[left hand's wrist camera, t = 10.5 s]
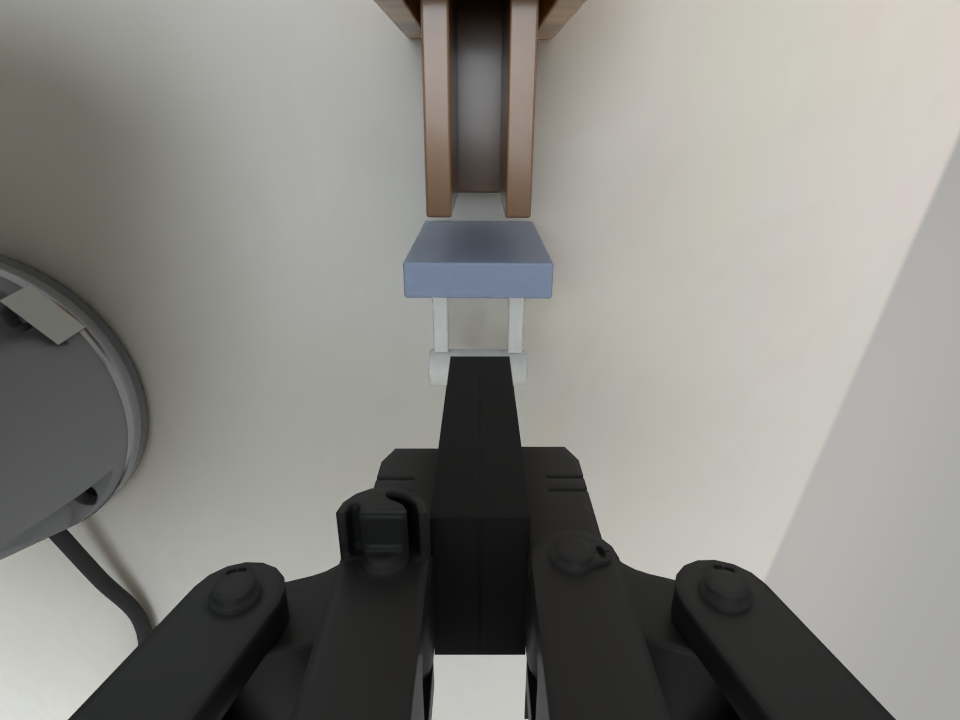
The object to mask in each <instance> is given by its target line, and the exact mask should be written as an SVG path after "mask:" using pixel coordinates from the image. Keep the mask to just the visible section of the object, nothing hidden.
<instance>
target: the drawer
mask: <svg viewBox="0 0 960 720" xmlns="http://www.w3.org/2000/svg"><path fill="white" fill-rule="evenodd" d="M420 4H421V39H422V73H423V108H424V143H425V177H426V212H427V216H428V217H451V215H452V212H453V209H454V205H455V202H456V199H457V195H458V192H474V193H500V197H501V201H502V204H503V208H504V212H505V216H506V217H507V218H529V217H530V216H531V192H532V166H533V141H534V115H535V90H536V64H537V38H538V13H539V0H420ZM403 270H404V292H405V297H407V298H433V330H434V349H431V350H430V354H429V382H430V385H447V379H448V371H449V364H450V356H510V364H511V371H512V379H513V386H525V385H526V381H527V354H526V350H522V339H523V311H524V298H551V297H552V281H553V263H552V261H551V259H550V257H549V255H548V253H547V251H546V249H545V247H544V245H543V243H542V241H541V239H540V237H539V235H538V233H537V231H536V229H535V227H534V225H533V223H532V222H454V221H426V222H425V223H424V225H423V227H422V229H421V231H420V233H419V235H418V236H417V238H416V240H415V242H414V244H413V246H412V248H411V250H410V252H409V253H408V255H407V257H406V259H405V261H404V263H403ZM448 298H509V299H508V338H507V350H502V349H449V325H448Z"/></svg>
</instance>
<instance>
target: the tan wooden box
mask: <svg viewBox="0 0 960 720" xmlns="http://www.w3.org/2000/svg"><path fill="white" fill-rule="evenodd" d="M374 1H375V2H376V3H377V4H378V5H379V7H380V8H381V9H382V10H383V11H384V12H385V13H386V14H387V15H388V17H389V18H390V19H391V20H392V21H393V22H394V23H395V24H396V26H397V27H398V28H399V29H400V30H401V31H402V32H403V33H404V34H405V35H406V36H407V37H408V38H421V4H420V0H374ZM585 2H586V0H539V13H538V38H537V39H552V38H553V37H554V36H555V35H556V34H557V33H558V31H559V30H560V29H561V28H562V27H563V26H564V25H565V24H566V23H567V22H568V20H569V19H570V18H571V17H572V16H573V15H574V14H575V13H576V12H577V10H578V9H579V8H580V7H581V6H582V5H583V4H584V3H585Z"/></svg>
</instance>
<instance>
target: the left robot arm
mask: <svg viewBox="0 0 960 720" xmlns="http://www.w3.org/2000/svg"><path fill="white" fill-rule="evenodd" d="M147 427H148V420H147V407H146V401H145V396H144V392H143V388H142V385H141V382H140V380H139V377H138V374H137V372H136V370H135V367H134V365H133V363H132V361H131V359H130V357H129V356H128V354H127V352H126V351H125V349H124V347H123V346H122V344H121V343H120V341H119V340H118V339H117V337H116V336H115V334H114V333H113V332H112V331H111V329H110V328H109V327H108V326H107V325H106V323H105V322H104V321H103V320H102V319H101V318H100V317H99V316H98V315H97V314H96V313H95V312H94V311H93V310H92V309H91V308H90V307H89V306H88V305H87V304H86V303H84V302H83V301H82V300H81V299H80V298H79V297H77V296H76V295H75V294H73V293H72V292H71V291H69V290H68V289H67V288H65V287H64V286H62V285H61V284H59V283H58V282H56V281H55V280H53V279H51V278H50V277H48V276H46V275H44V274H42V273H41V272H39V271H37V270H35V269H33V268H31V267H28V266H26V265H24V264H22V263H19V262H17V261H14V260H11V259H8V258H5V257H3V256H0V560H1V559H3V558H5V557H7V556H10V555H12V554H14V553H16V552H18V551H20V550H22V549H25V548H27V547H29V546H31V545H33V544H35V543H37V542H40V541H42V540H44V539H46V538H48V537H49V538H50V539H51V540H52V541H53V542H54V543H55V545H56V546H57V547H58V548H59V549H60V550H61V551H62V552H63V553H64V554H65V555H66V556H67V558H68V559H69V560H70V561H71V562H72V563H73V564H74V565H75V566H76V567H77V568H78V569H79V570H80V571H81V573H82V574H83V575H84V576H85V577H86V578H87V579H88V580H89V581H90V582H91V583H92V584H93V585H94V586H95V587H96V588H97V589H98V590H99V591H100V592H101V593H103V594H104V595H105V596H106V597H107V598H108V599H110V600H111V601H112V602H113V603H115V604H116V605H117V606H118V607H119V608H120V609H121V610H122V611H123V612H124V613H125V614H126V615H127V616H128V617H129V618H130V620H131V622H132V624H133V626H134V628H135V631H136V634H137V639H138V647H137V648H136V649H135V650H134V651H133V652H132V653H131V654H130V655H129V656H128V657H127V658H126V659H125V660H124V661H123V662H122V664H121V665H120V666H119V667H118V668H117V669H116V670H115V671H114V672H113V673H112V674H111V675H110V676H109V677H108V678H107V679H106V680H105V681H104V682H103V683H102V685H101V686H100V687H99V688H98V689H97V690H96V691H95V692H94V693H93V694H92V695H91V696H90V697H89V698H88V699H87V700H86V701H85V702H84V703H83V704H82V706H81V707H80V708H79V709H78V710H77V711H76V712H75V713H74V714H73V715H72V716H71V717H70V718H69V719H68V720H431V718H432V705H433V693H434V670H433V657H434V648H435V655H525V648H526V655H527V670H526V694H525V719H529V720H896V719H895V718H894V717H893V716H892V715H891V714H890V713H889V712H888V711H887V710H886V709H885V708H884V707H883V706H882V705H881V704H880V703H879V702H878V701H877V700H876V699H875V698H874V696H873V695H872V694H871V693H870V692H869V691H868V690H867V689H866V688H865V687H864V686H863V685H862V684H861V683H860V682H859V681H858V680H857V679H856V678H855V677H854V676H853V675H852V674H851V672H850V671H849V670H848V669H847V668H846V667H845V666H844V665H843V664H842V663H841V662H840V661H839V660H838V659H837V658H836V657H835V656H834V655H833V654H832V653H831V652H830V651H829V650H828V649H827V647H826V646H825V645H824V644H823V643H822V642H821V641H820V640H819V639H818V638H817V637H816V636H815V635H814V634H813V633H812V632H811V631H810V630H809V629H808V628H807V627H806V626H805V624H804V623H803V622H802V621H801V620H800V619H799V618H798V617H797V616H796V615H795V614H794V613H793V612H792V611H791V610H790V609H789V608H788V607H787V606H786V605H785V604H784V603H783V602H782V600H781V599H780V598H779V597H778V596H777V595H776V594H775V593H774V592H773V591H772V590H771V589H770V588H769V587H768V586H767V585H766V584H765V583H764V582H762V581H761V580H760V579H759V578H757V577H756V576H755V575H754V574H752V573H751V572H749V571H747V570H745V569H742V568H740V567H738V566H736V565H734V564H730V563H726V562H721V561H717V560H698V561H695V562H692V563H690V564H687V565H684V566H683V568H682V569H681V570H680V571H679V572H678V574H677V575H676V580H672V579H668V578H664V577H659V576H655V575H651V574H647V573H644V572H641V571H638V570H635V569H633V568H631V567H629V566H627V565H625V564H623V563H622V562H621V561H620V560H619V557H618V556H617V554H616V552H615V551H614V549H613V547H612V546H610V545H609V544H608V543H607V542H605V541H604V540H603V539H602V538H601V534H600V531H599V527H598V524H597V521H596V517H595V514H594V511H593V507H592V504H591V501H590V497H589V494H588V492H587V487H586V484H585V480H584V479H583V474H582V470H581V467H580V464H579V460H578V459H577V458H576V457H575V456H574V455H573V454H571V453H570V452H569V451H568V450H567V449H566V448H565V447H521V441H520V433H519V425H518V418H517V410H516V402H515V394H514V387H513V379H512V371H511V364H510V356H450V364H449V371H448V379H447V387H446V394H445V402H444V410H443V418H442V425H441V433H440V441H439V448H438V449H395V450H394V451H393V452H392V453H390V454H389V455H388V456H387V457H386V458H385V459H384V460H383V461H382V462H381V466H380V469H379V473H378V476H377V480H376V483H375V486H374V488H373V489H369V490H366V491H363V492H360V493H358V494H355V495H354V496H352V497H351V498H349V499H348V500H346V501H345V502H343V504H342V505H341V507H340V508H339V509H338V511H337V512H336V517H337V526H338V535H339V544H340V553H341V561H340V564H339V565H337V566H335V567H333V568H332V569H330V570H328V571H326V572H323V573H320V574H317V575H314V576H310V577H306V578H302V579H298V580H293V581H289V582H285V581H284V577H283V576H282V574H281V573H280V572H279V571H278V570H277V568H275V567H272V566H270V565H267V564H265V563H251V562H245V563H241V564H236V565H232V566H227V567H225V568H223V569H221V570H219V571H217V572H215V573H212V574H210V575H209V576H207V577H206V578H205V579H204V580H202V581H201V582H200V583H199V584H197V585H196V586H195V587H194V588H193V589H192V590H191V591H190V592H189V593H188V594H187V595H186V596H185V597H184V598H183V599H182V600H181V602H180V603H179V604H178V605H177V606H176V607H175V608H174V609H173V610H172V611H171V612H170V613H169V614H168V615H167V616H166V617H165V618H164V619H163V620H162V621H161V623H160V624H159V625H158V626H157V627H156V628H155V629H154V630H153V631H152V627H151V624H150V621H149V618H148V617H147V615H146V613H145V611H144V610H143V608H142V607H141V606H140V604H139V603H138V602H137V601H136V600H135V599H134V598H133V597H132V596H131V595H130V594H129V593H128V592H127V591H126V590H125V589H123V588H122V587H121V586H120V585H119V584H118V583H116V582H115V581H114V580H113V579H112V578H111V577H110V576H109V575H108V574H107V573H106V572H105V571H104V570H103V569H102V568H101V567H100V566H99V565H98V563H97V562H96V561H95V560H94V559H93V558H92V557H91V556H90V555H89V554H88V552H87V551H86V550H85V549H84V548H83V547H82V546H81V545H80V544H79V542H78V541H77V540H76V539H75V538H74V537H73V536H72V535H71V533H70V532H69V531H68V530H67V528H69V527H72V526H73V525H76V524H78V523H79V522H81V521H83V520H85V519H87V518H88V517H90V516H91V515H92V514H94V513H95V512H96V511H98V510H99V509H100V508H101V507H102V506H103V505H104V504H105V503H106V502H107V501H108V500H109V499H110V498H111V497H112V496H113V495H114V494H115V493H116V492H117V491H118V490H119V489H120V488H121V487H122V486H123V485H124V484H125V483H126V482H127V481H128V479H129V478H130V477H131V475H132V474H133V472H134V471H135V469H136V467H137V465H138V463H139V461H140V459H141V456H142V454H143V451H144V447H145V443H146V438H147Z"/></svg>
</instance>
